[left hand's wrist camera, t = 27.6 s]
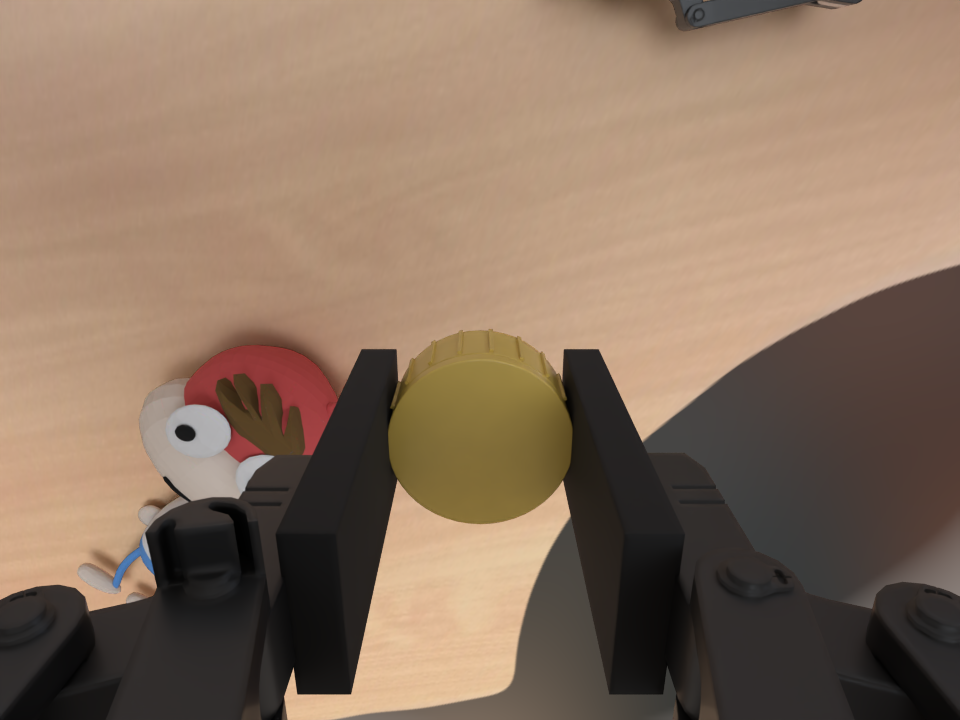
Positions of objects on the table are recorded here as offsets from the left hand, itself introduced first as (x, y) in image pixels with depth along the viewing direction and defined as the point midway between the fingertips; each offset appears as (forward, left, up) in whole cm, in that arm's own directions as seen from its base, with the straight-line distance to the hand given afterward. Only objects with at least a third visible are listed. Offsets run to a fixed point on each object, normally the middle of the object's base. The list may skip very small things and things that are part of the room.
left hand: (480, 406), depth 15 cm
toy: (-3, -32, -35) cm, 48 cm away
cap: (0, 0, +1) cm, 1 cm away
